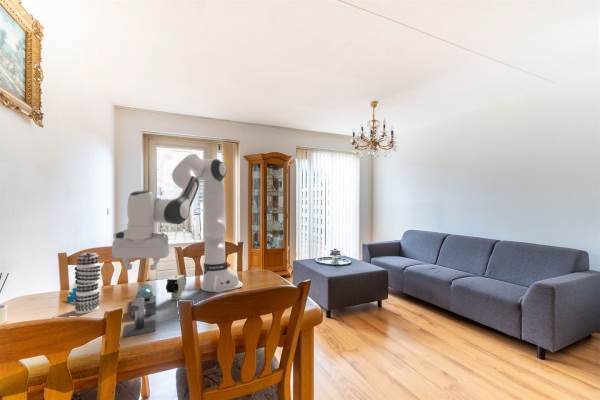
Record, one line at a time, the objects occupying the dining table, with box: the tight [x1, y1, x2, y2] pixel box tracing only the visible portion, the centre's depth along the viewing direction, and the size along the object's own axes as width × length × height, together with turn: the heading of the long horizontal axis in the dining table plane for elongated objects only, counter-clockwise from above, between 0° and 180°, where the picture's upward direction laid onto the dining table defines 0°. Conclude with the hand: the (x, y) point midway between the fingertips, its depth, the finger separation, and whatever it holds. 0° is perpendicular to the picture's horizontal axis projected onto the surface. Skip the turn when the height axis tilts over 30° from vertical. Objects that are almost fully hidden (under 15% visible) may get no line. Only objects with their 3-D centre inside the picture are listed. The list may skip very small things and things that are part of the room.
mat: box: [122, 319, 156, 338], centre depth 104 cm, size 10×10×1 cm
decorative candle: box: [73, 251, 101, 314], centre depth 121 cm, size 9×9×25 cm
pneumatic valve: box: [165, 274, 187, 301], centre depth 135 cm, size 6×12×12 cm, turn 178°
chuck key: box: [132, 297, 147, 330], centre depth 104 cm, size 7×3×11 cm, turn 174°
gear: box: [66, 286, 77, 303], centre depth 133 cm, size 11×6×10 cm
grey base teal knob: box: [130, 283, 157, 319], centre depth 123 cm, size 9×29×7 cm, turn 29°
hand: (141, 269), depth 104 cm, fingers open, 8 cm apart
